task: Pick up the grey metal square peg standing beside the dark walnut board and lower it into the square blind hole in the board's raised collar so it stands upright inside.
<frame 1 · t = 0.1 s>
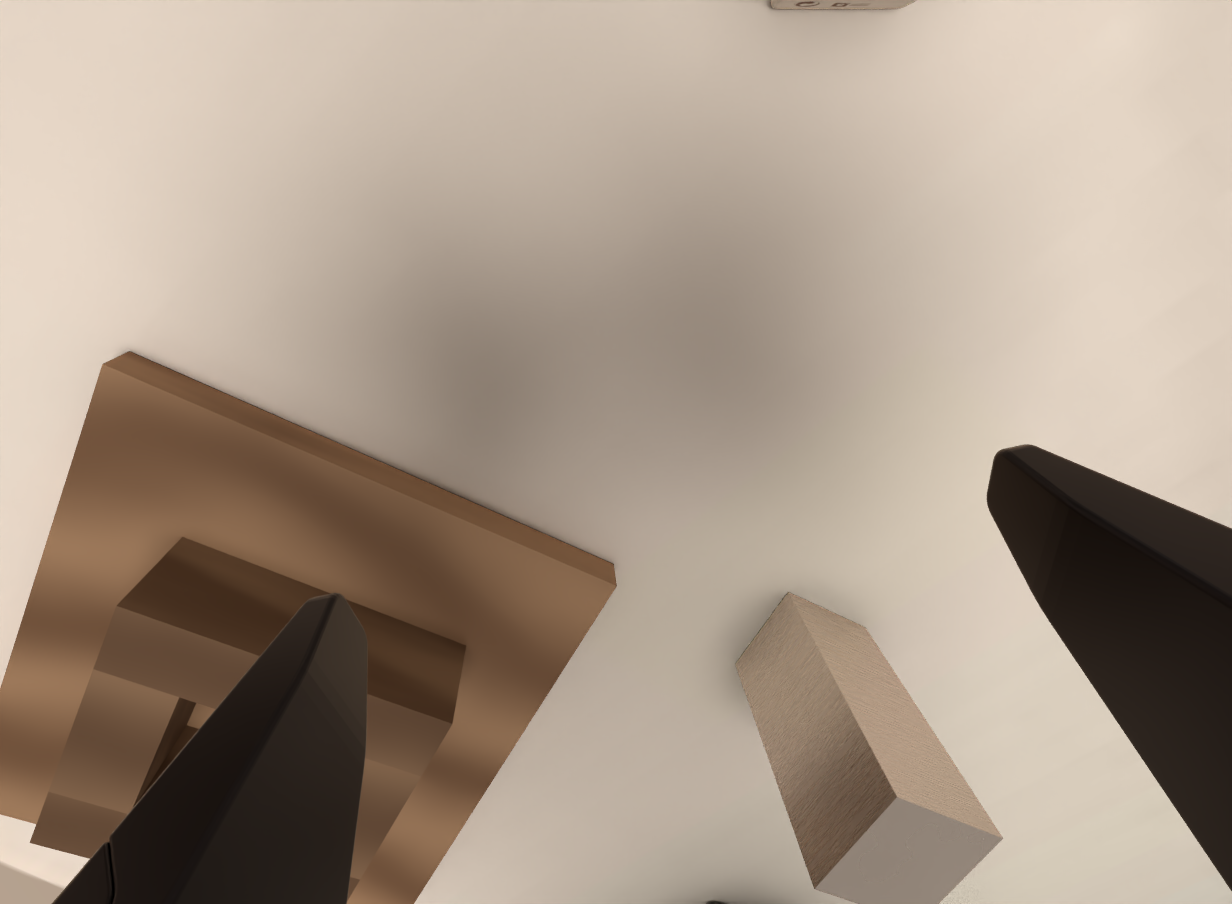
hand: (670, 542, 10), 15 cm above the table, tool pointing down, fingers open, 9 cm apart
socket block: (294, 671, 29), on the table
steel peg: (800, 645, 30), on the table
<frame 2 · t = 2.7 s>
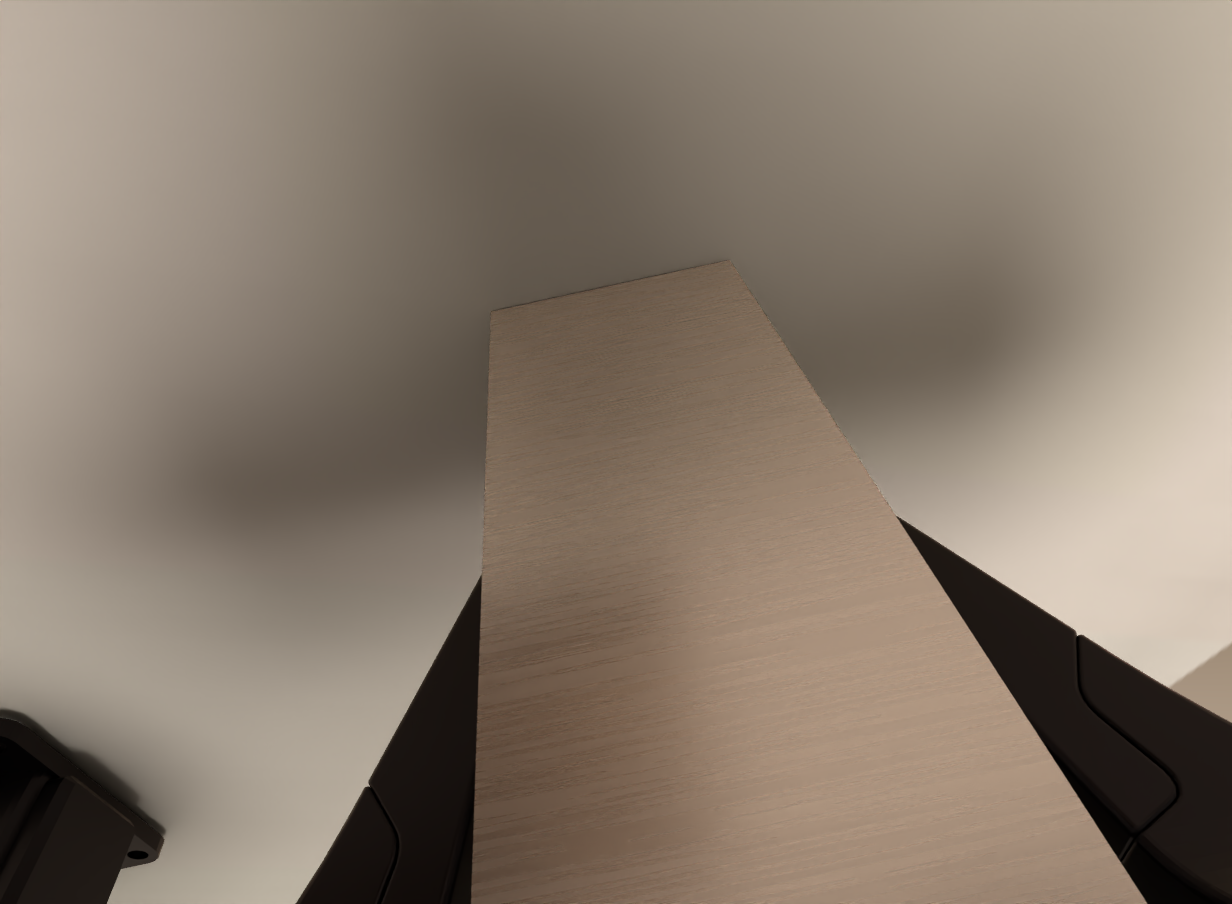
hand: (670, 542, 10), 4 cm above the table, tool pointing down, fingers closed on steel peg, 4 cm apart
steel peg: (629, 387, 13), on the table, touching gripper
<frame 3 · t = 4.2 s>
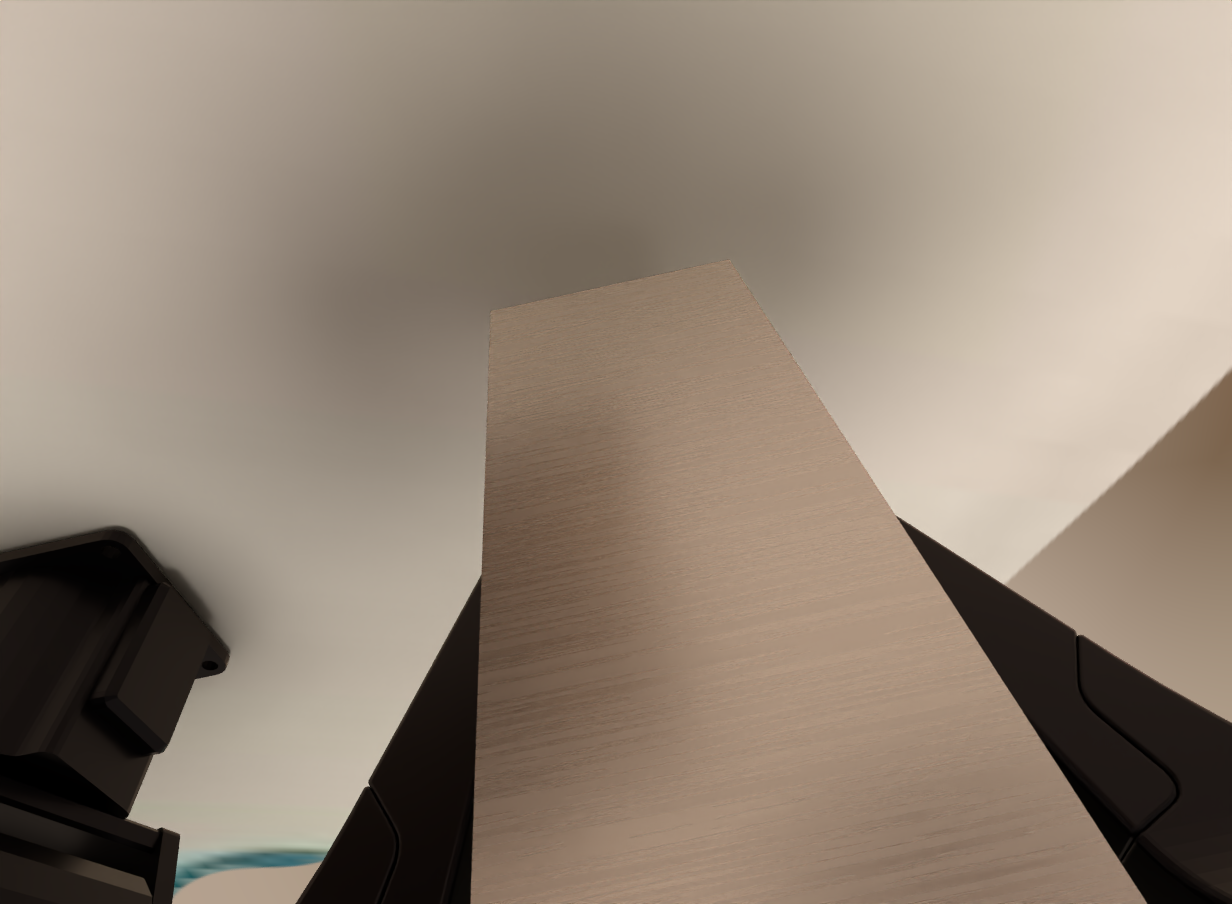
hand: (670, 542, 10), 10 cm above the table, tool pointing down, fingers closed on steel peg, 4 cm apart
steel peg: (629, 386, 13), point 6 cm above the table, touching gripper
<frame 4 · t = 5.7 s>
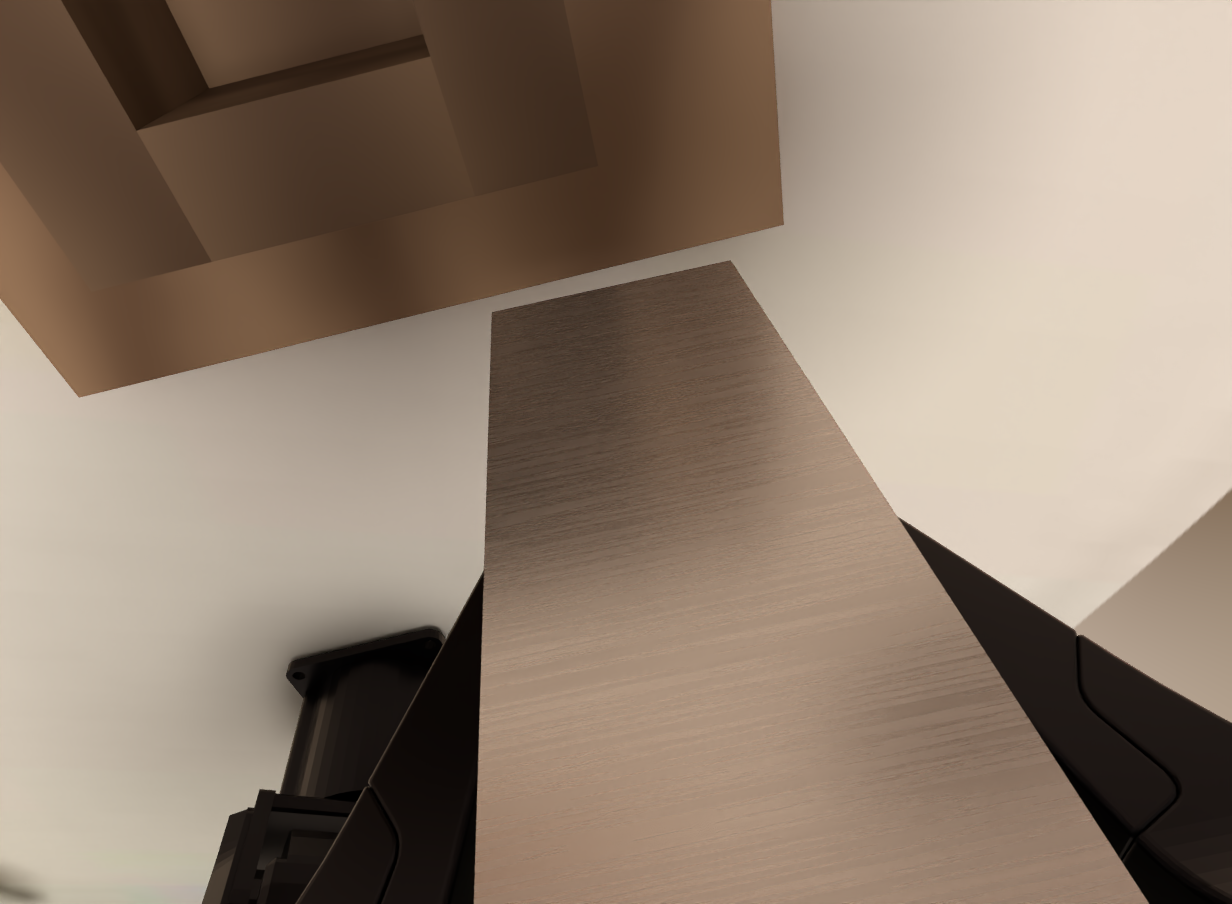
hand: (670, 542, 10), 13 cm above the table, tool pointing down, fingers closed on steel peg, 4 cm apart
steel peg: (630, 387, 13), point 9 cm above the table, touching gripper
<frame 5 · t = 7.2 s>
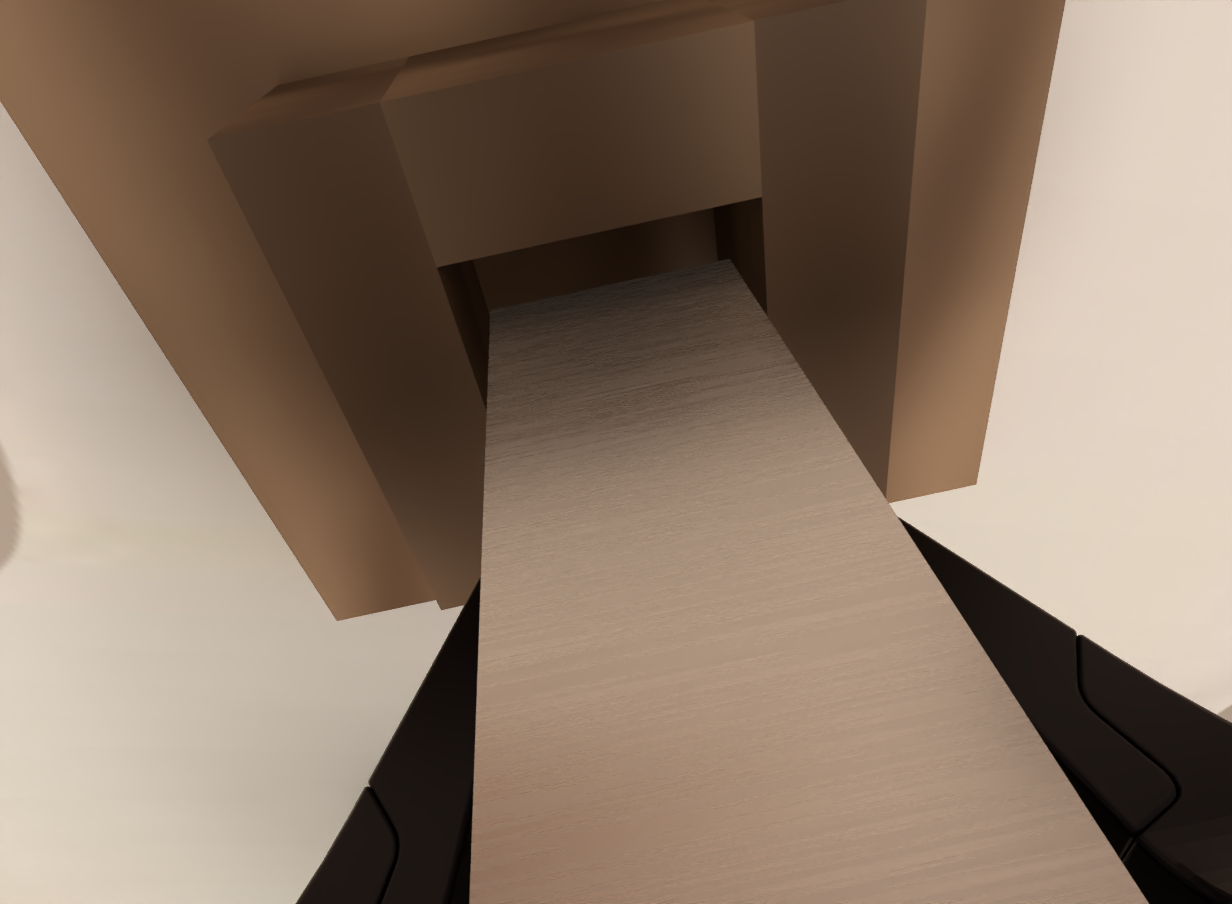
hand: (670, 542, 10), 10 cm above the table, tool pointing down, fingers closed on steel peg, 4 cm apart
socket block: (595, 258, 18), on the table
steel peg: (629, 386, 13), point 6 cm above the table, touching gripper
when the fingers open (6 cm above the table, at t = 8.7 s): steel peg stays where it is, resting on socket block.
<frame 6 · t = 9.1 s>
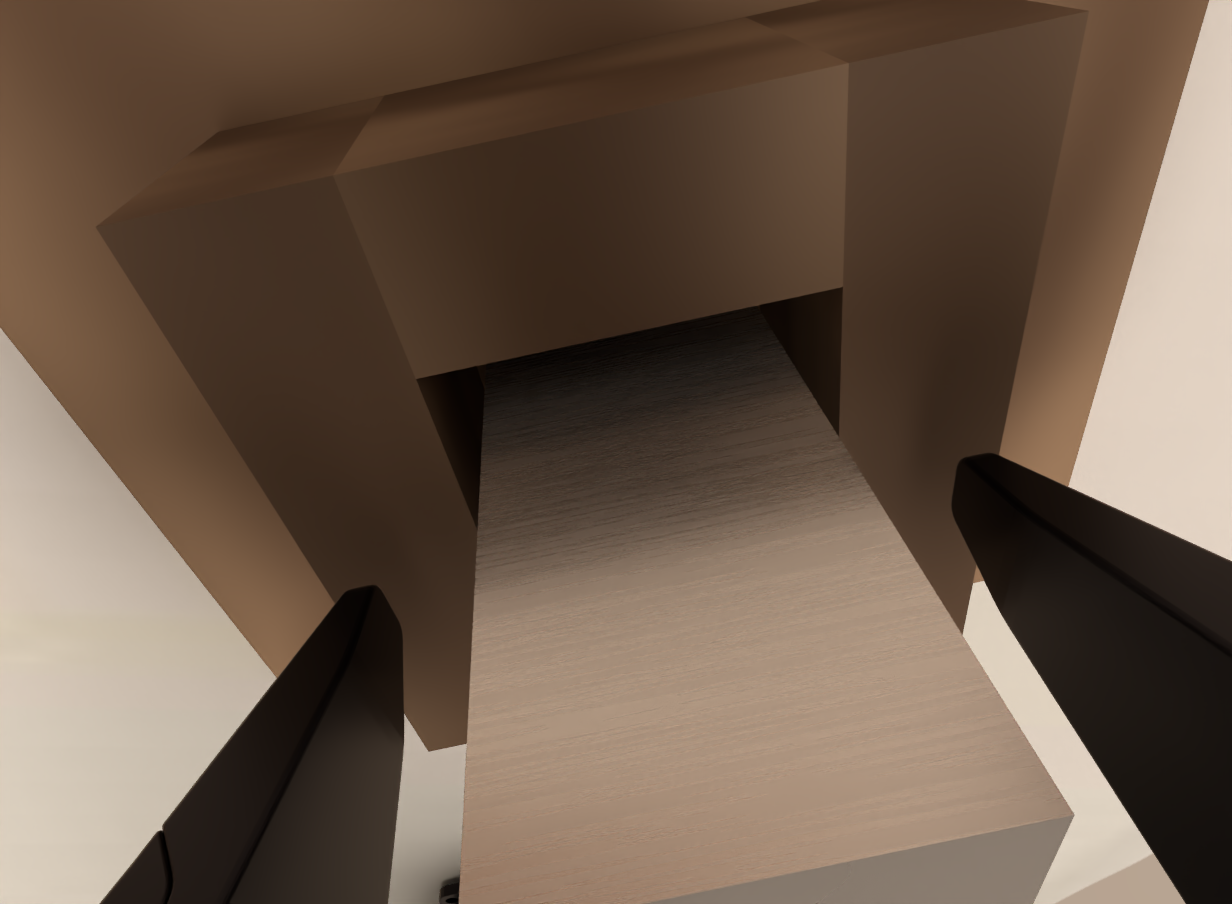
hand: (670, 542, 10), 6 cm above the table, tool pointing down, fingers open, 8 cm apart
socket block: (613, 323, 15), on the table
steel peg: (621, 360, 14), point 2 cm above the table, touching socket block
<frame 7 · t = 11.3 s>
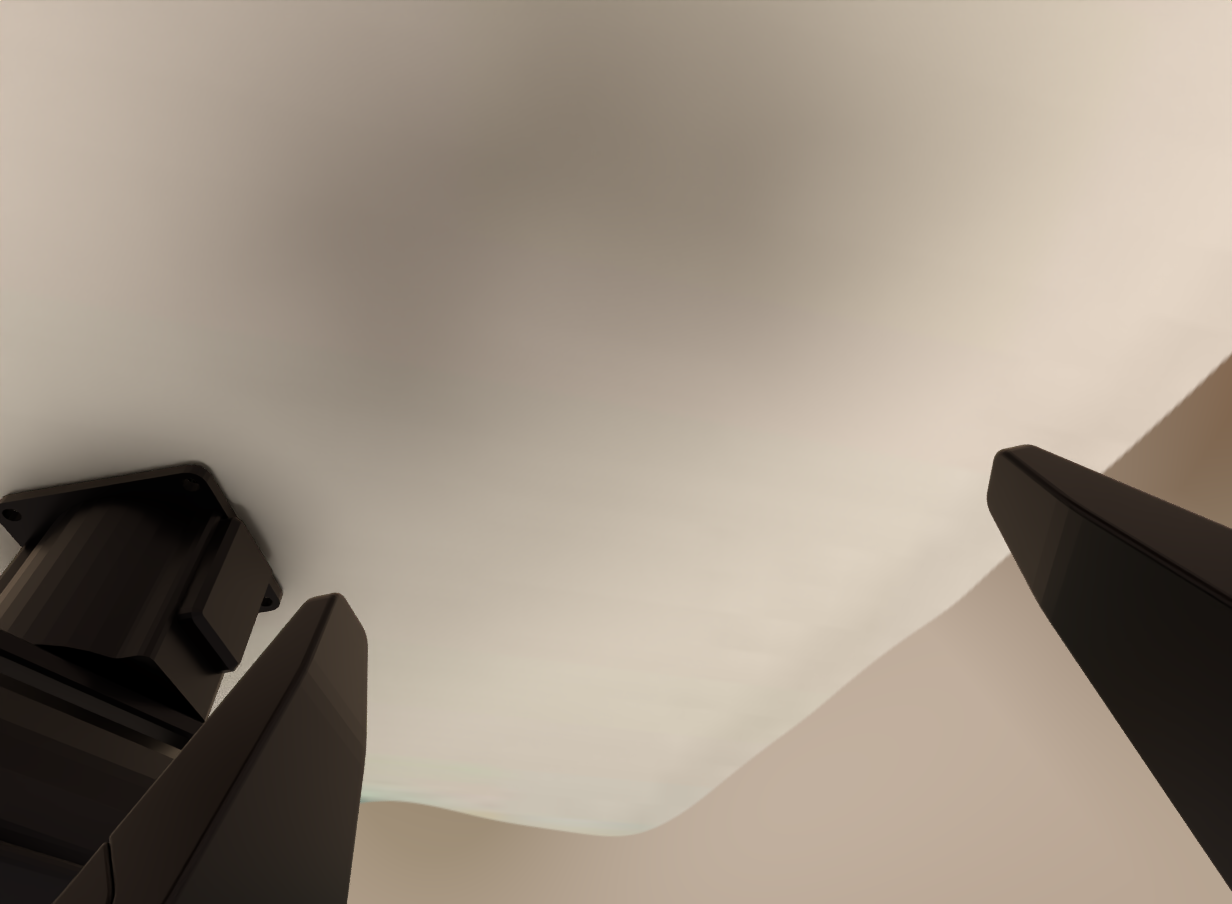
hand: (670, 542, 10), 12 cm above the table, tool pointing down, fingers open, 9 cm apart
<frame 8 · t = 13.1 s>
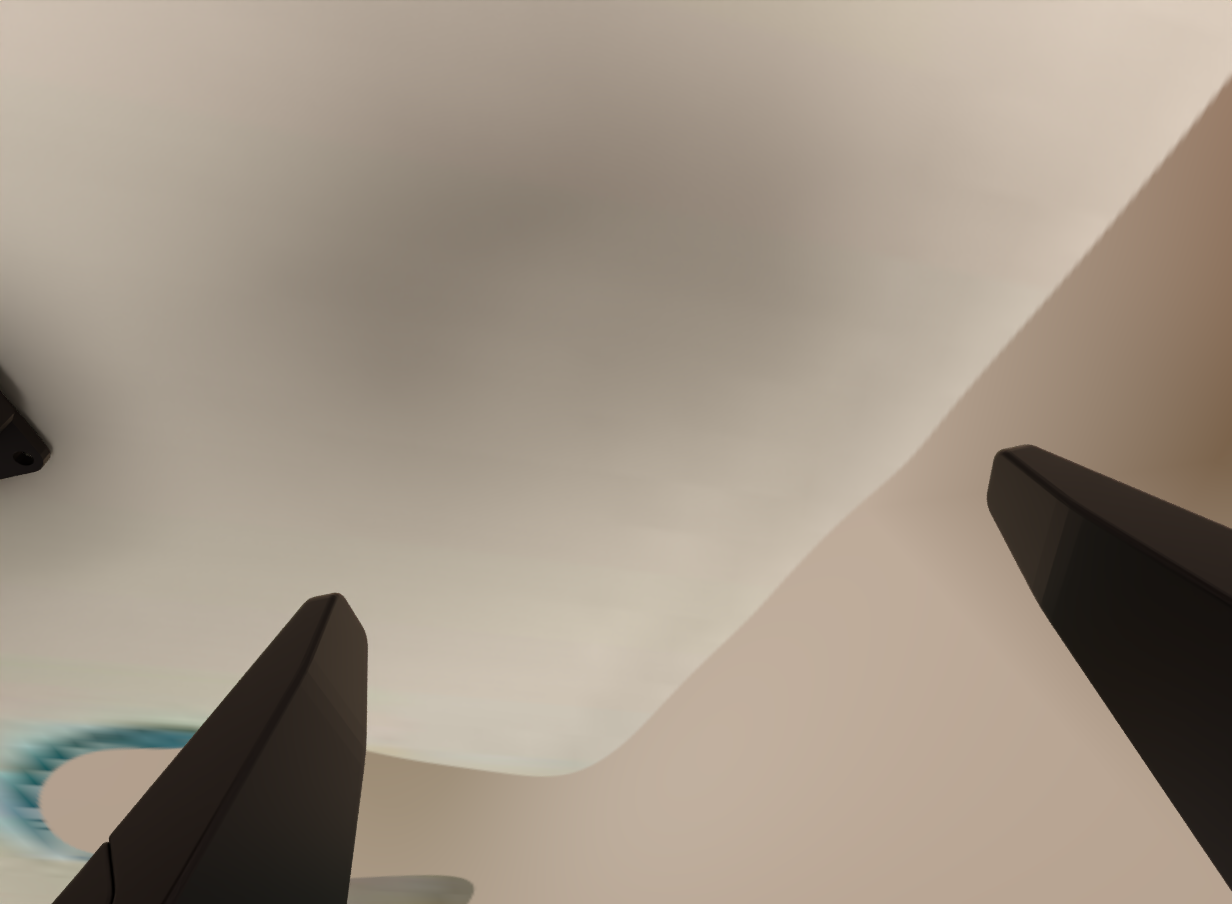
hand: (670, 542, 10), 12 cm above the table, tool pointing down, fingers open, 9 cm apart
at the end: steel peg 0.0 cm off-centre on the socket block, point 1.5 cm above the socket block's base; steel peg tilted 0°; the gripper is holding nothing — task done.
